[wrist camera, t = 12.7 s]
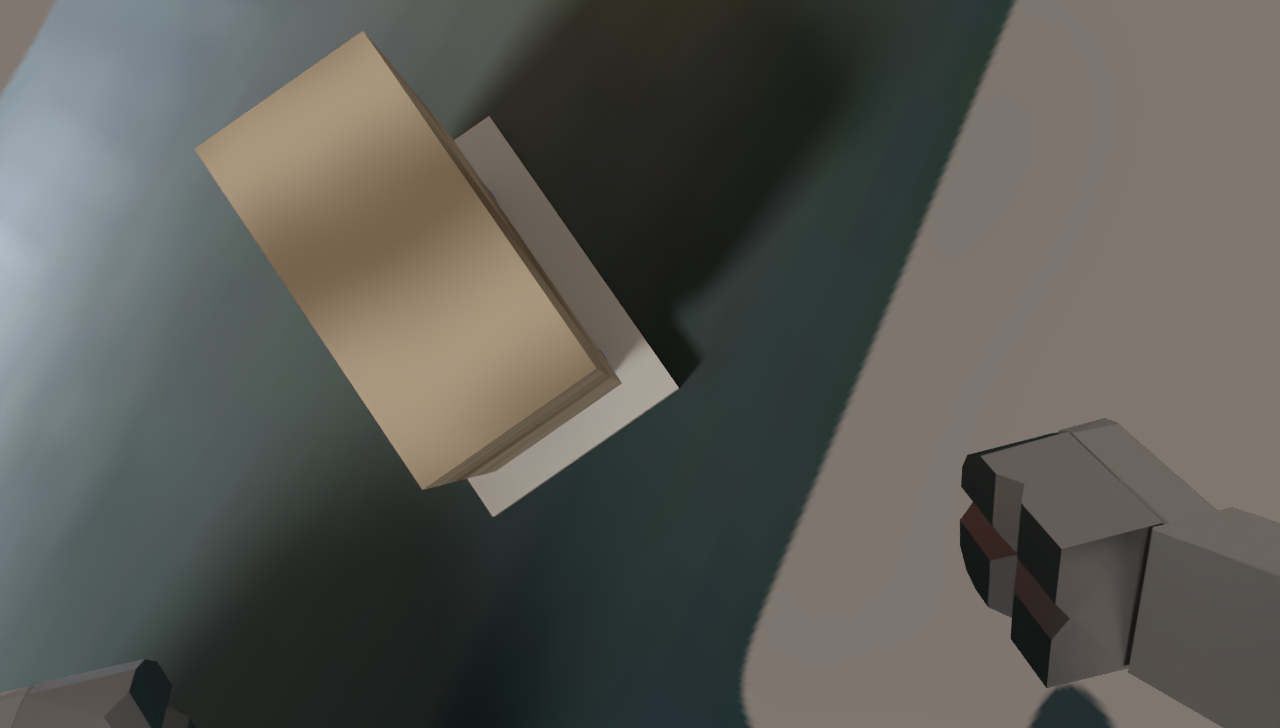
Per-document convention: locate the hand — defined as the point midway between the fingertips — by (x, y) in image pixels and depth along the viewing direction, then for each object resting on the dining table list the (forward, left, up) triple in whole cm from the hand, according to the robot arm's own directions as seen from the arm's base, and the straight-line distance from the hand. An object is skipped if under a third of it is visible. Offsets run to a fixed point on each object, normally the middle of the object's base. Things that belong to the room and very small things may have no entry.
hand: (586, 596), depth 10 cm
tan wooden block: (+8, -2, -22) cm, 24 cm away
